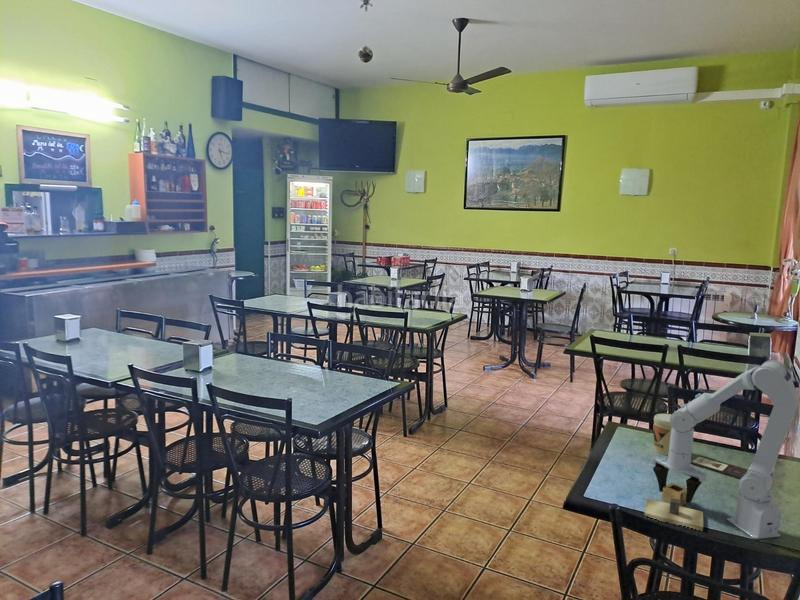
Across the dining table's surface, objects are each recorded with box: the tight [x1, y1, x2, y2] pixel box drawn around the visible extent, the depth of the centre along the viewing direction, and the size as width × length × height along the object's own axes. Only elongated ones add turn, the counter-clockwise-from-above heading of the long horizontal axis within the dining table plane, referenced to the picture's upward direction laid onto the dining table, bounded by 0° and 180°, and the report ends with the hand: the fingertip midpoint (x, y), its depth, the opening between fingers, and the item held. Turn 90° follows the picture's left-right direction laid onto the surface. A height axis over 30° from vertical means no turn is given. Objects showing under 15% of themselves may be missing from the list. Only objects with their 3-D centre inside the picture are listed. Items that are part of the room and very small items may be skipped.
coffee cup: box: [652, 413, 672, 456], centre depth 200 cm, size 9×9×12 cm
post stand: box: [643, 498, 704, 532], centre depth 156 cm, size 14×9×4 cm, turn 63°
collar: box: [661, 482, 688, 507], centre depth 164 cm, size 5×5×4 cm
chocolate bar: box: [690, 454, 749, 480], centre depth 187 cm, size 9×1×18 cm
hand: (675, 496), depth 164 cm, fingers open, 7 cm apart
